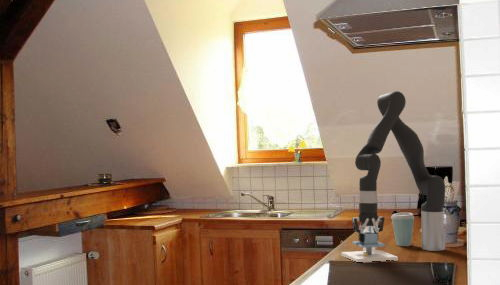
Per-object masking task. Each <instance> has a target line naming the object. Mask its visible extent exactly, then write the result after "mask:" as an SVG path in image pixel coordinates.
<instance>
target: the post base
mask: <svg viewBox="0 0 500 285" xmlns="http://www.w3.org/2000/svg"><path fill="white" fill-rule="evenodd" d="M340 255H341V257H343V258H345V257H346V258H345V259H347V258H349V259H351V260H350V261H352V260H353V261H352V262H354V261H356V262H363V263H373V262H372V261H381V262H387V261H386V260H390V261H389V262H392V261H391V260H394V261H393V262H395V261H397V262H398V261H399V256H396V255H394V254H391V253H388V252H386V251H383V250H382V249H381V250H379V249H377V250H374V251H372V247H366V251H363V250H361V251H359V250H358V251H357V250H356V251H342V252H341V253H340ZM349 259H348V260H349ZM356 262H355V263H356Z"/></svg>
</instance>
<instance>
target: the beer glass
mask: <svg viewBox="0 0 500 285" xmlns="http://www.w3.org/2000/svg"><path fill="white" fill-rule="evenodd" d="M378 223H379V221H378V220H377V221H376V225H377V228H378ZM363 232H374V231H373V228H372V227H371V226H366V228H365V229H364V231H363ZM374 250H378V247H372V251H374ZM362 251H366V247H365V248H362Z"/></svg>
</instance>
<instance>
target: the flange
mask: <svg viewBox="0 0 500 285" xmlns="http://www.w3.org/2000/svg"><path fill="white" fill-rule="evenodd" d="M352 245H355V246H358V247H360V248H362V249H363V248H365V247H377V248H383V247H384V248H385V247H386V244H385V243H383V242H380V241H379V233H378V234H377V233H374V232H363V243H361V242H360V241H359V240H354V241H353V240H352Z"/></svg>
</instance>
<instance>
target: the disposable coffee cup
mask: <svg viewBox="0 0 500 285" xmlns="http://www.w3.org/2000/svg"><path fill="white" fill-rule="evenodd" d="M390 219H391V221H392V222H391V223H392V228H393V233H394V237H395V238H394V239H395V244H396V246H399V247H409V246H411V245H412V240H413V239H412V238H413V229H414V223H415V222H414V221H415V216H414V213H412V212H397V213H393V214H392V215H391V217H390Z"/></svg>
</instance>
